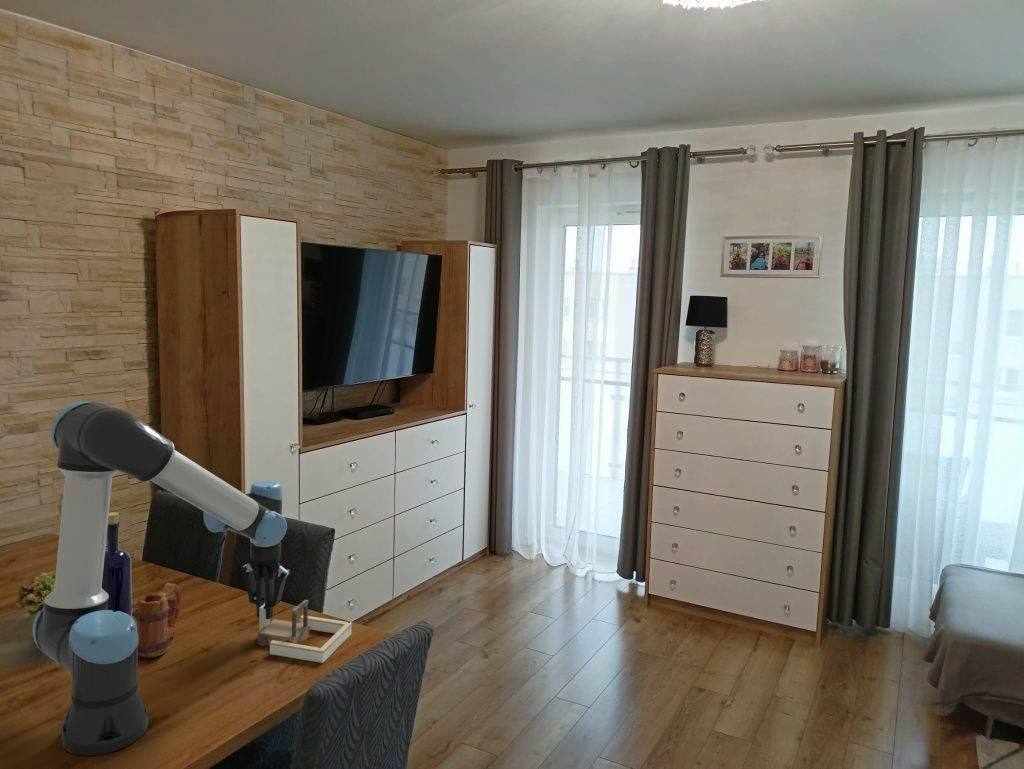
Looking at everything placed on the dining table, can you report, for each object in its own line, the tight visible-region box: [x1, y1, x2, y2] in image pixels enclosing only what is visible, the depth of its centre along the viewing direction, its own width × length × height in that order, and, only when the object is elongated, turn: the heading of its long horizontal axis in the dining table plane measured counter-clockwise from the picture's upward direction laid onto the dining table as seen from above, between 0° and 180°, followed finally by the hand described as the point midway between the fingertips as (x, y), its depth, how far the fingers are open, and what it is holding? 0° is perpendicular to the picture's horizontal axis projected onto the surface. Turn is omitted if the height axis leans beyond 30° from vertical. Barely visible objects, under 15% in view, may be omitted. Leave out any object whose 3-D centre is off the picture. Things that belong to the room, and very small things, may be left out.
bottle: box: [102, 511, 133, 618], centre depth 193 cm, size 9×9×30 cm
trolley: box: [257, 599, 310, 647], centre depth 191 cm, size 10×10×10 cm
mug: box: [132, 582, 182, 658], centre depth 183 cm, size 15×8×15 cm, turn 168°
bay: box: [269, 614, 353, 664], centre depth 190 cm, size 17×14×3 cm
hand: (264, 629), depth 193 cm, fingers closed
